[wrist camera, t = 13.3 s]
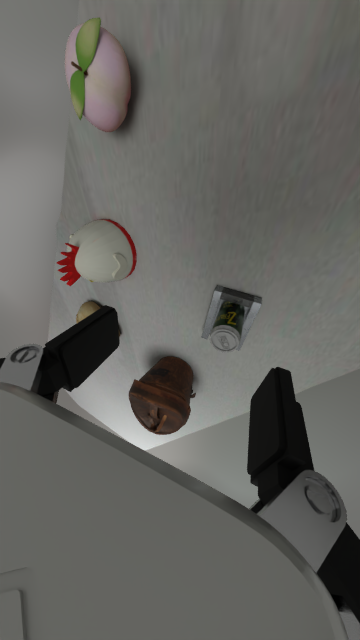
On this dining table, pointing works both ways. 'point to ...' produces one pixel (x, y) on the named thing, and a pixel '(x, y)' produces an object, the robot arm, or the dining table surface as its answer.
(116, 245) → the kitchen timer
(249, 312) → the grey tray
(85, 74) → the decorative fruit
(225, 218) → the dining table surface
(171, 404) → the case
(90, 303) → the bread roll
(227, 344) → the beer can
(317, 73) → the dining table surface
